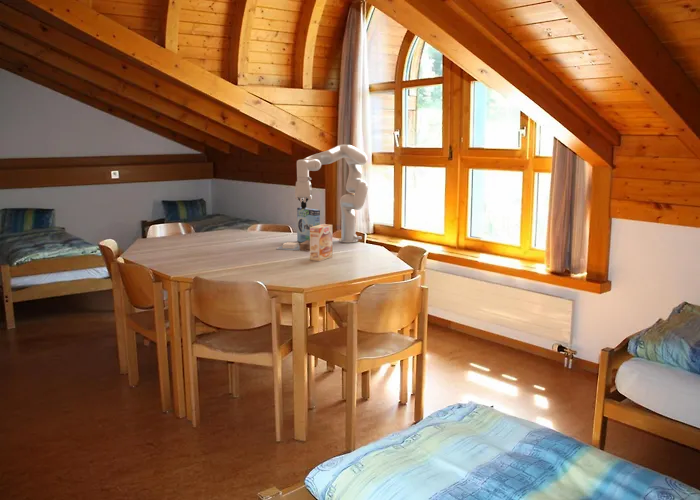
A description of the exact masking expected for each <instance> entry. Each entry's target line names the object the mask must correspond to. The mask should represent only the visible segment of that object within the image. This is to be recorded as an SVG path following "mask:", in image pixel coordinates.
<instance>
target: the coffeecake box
mask: <svg viewBox="0 0 700 500" xmlns="http://www.w3.org/2000/svg"><path fill="white" fill-rule="evenodd" d="M330 258H333V224H330V223H327V224H326V223H322V224H321V223H320V225H317V226H313V227H310V251H309V261H315V262H321V261H325V260H328V259H330Z"/></svg>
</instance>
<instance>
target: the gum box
mask: <svg viewBox="0 0 700 500" xmlns="http://www.w3.org/2000/svg"><path fill="white" fill-rule="evenodd" d="M296 212H297V214H296V215H297V217H296V221H297V223H296V225H297V226H296V229H297V230H296V232H297V234H296V235H297V238H296V240H297V241H296V242H298V243H299V242H300V243H303V242H304V241H306V240H310V227H313V226H317V225H321V210H320V209H314V208H311V207H310V208H308V207H306V208H305V209H302V207H301V206H299V207H297V209H296Z"/></svg>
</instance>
